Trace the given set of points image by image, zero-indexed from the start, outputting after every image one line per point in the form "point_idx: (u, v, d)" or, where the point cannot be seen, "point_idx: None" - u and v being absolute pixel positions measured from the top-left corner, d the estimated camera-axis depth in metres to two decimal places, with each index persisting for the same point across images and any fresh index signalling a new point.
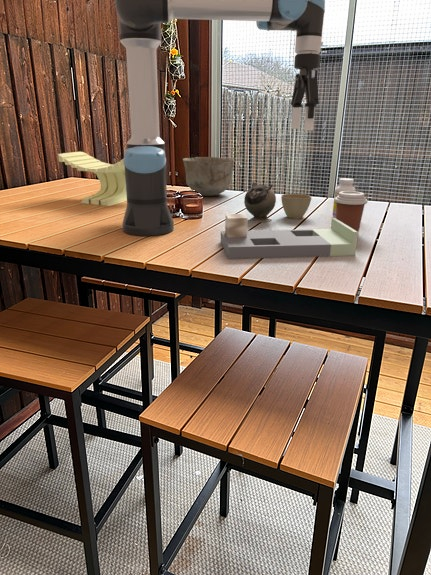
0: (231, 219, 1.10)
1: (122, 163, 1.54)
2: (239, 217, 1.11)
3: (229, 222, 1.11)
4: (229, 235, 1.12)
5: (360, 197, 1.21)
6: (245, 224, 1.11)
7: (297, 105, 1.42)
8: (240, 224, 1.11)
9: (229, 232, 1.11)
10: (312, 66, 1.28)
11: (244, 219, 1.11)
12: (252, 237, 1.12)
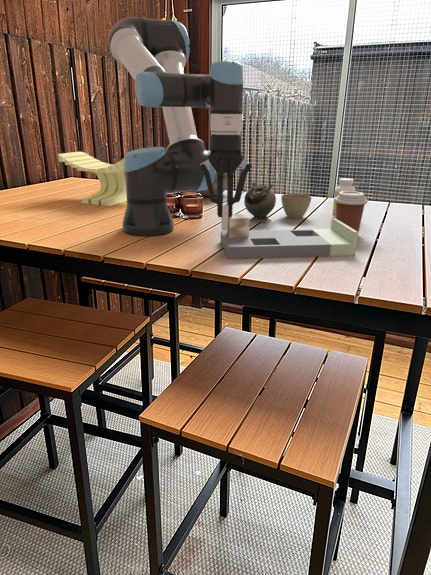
0: (233, 219, 1.10)
1: (122, 163, 1.54)
2: (241, 217, 1.11)
3: (231, 222, 1.11)
4: (231, 235, 1.12)
5: (360, 197, 1.21)
6: (247, 224, 1.11)
7: (228, 200, 1.10)
8: (242, 224, 1.11)
9: (231, 232, 1.11)
10: (211, 149, 1.05)
11: (246, 219, 1.11)
12: (252, 237, 1.12)
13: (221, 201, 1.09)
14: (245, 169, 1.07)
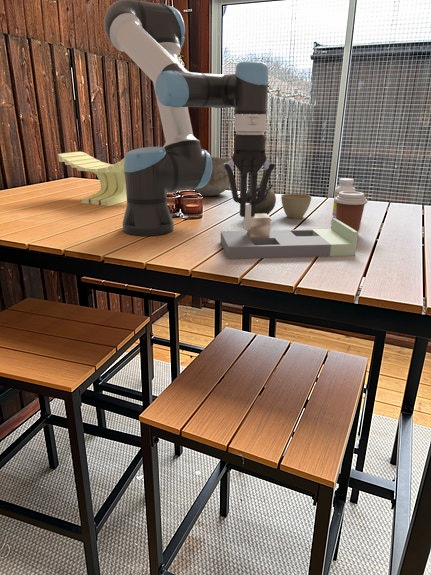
0: (254, 219, 1.11)
1: (122, 163, 1.54)
2: (262, 217, 1.12)
3: (252, 222, 1.11)
4: (252, 235, 1.12)
5: (360, 197, 1.21)
6: (268, 224, 1.12)
7: (250, 200, 1.11)
8: (263, 223, 1.12)
9: (252, 232, 1.12)
10: (235, 149, 1.05)
11: (267, 219, 1.11)
12: (252, 237, 1.12)
13: (244, 201, 1.10)
14: (268, 169, 1.08)
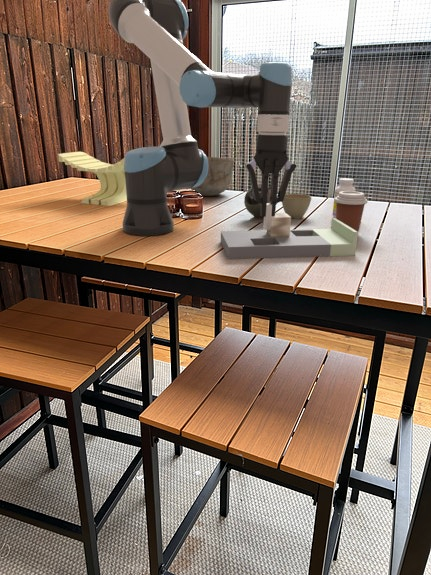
0: (275, 218, 1.11)
1: (122, 163, 1.54)
2: (282, 216, 1.12)
3: (273, 221, 1.12)
4: (272, 234, 1.13)
5: (360, 197, 1.21)
6: (288, 223, 1.12)
7: (271, 200, 1.12)
8: (283, 223, 1.12)
9: (272, 231, 1.13)
10: (257, 149, 1.06)
11: (288, 218, 1.12)
12: (252, 237, 1.12)
13: (265, 201, 1.11)
14: (290, 169, 1.08)
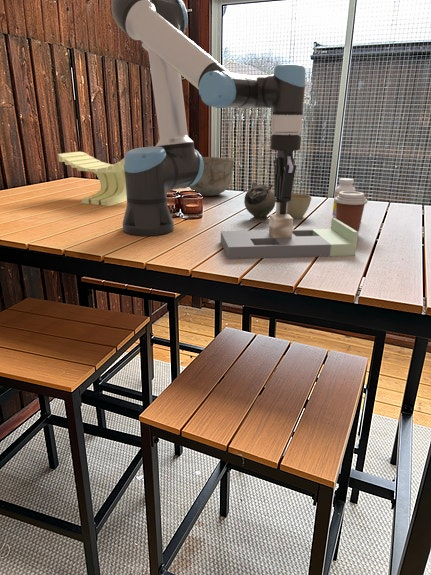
0: (277, 219, 1.10)
1: (122, 163, 1.54)
2: (285, 217, 1.11)
3: (275, 222, 1.11)
4: (274, 235, 1.12)
5: (360, 197, 1.21)
6: (291, 224, 1.11)
7: None
8: (286, 224, 1.11)
9: (274, 232, 1.11)
10: (292, 150, 1.07)
11: (290, 219, 1.11)
12: (252, 237, 1.12)
13: None
14: None
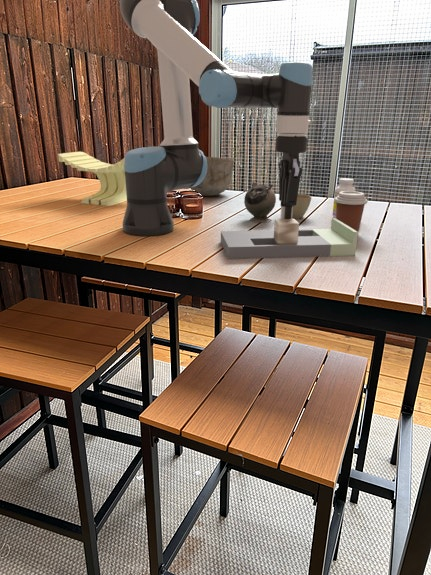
0: (282, 224, 1.06)
1: (122, 163, 1.54)
2: (290, 222, 1.06)
3: (280, 227, 1.06)
4: (279, 241, 1.07)
5: (360, 197, 1.21)
6: (296, 230, 1.06)
7: None
8: (291, 229, 1.06)
9: (279, 238, 1.07)
10: (298, 152, 1.02)
11: (295, 224, 1.06)
12: (252, 237, 1.12)
13: None
14: None
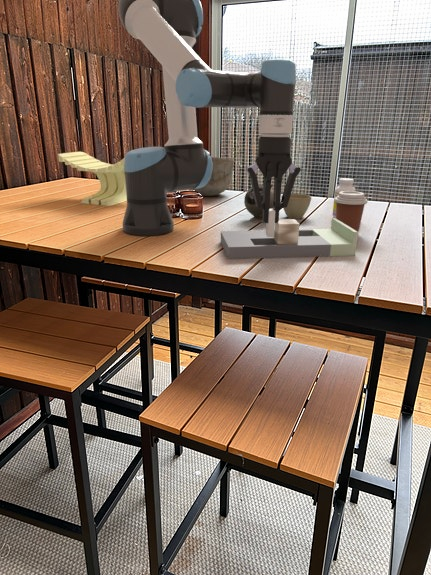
0: (282, 225, 1.05)
1: (122, 163, 1.54)
2: (290, 223, 1.06)
3: (280, 228, 1.05)
4: (279, 241, 1.07)
5: (360, 197, 1.21)
6: (297, 230, 1.06)
7: (274, 205, 1.05)
8: (291, 230, 1.06)
9: (279, 238, 1.06)
10: (259, 152, 1.00)
11: (296, 225, 1.05)
12: (252, 237, 1.12)
13: (268, 206, 1.04)
14: (294, 173, 1.02)
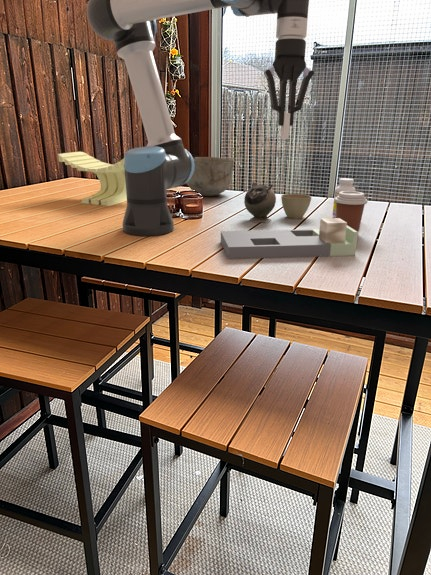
0: (330, 224, 1.06)
1: (122, 163, 1.54)
2: (338, 222, 1.07)
3: (328, 227, 1.07)
4: (327, 240, 1.08)
5: (360, 197, 1.21)
6: (344, 229, 1.07)
7: (289, 109, 1.15)
8: (339, 229, 1.07)
9: (327, 237, 1.08)
10: (276, 55, 1.09)
11: (343, 224, 1.07)
12: (252, 237, 1.12)
13: (283, 109, 1.13)
14: (308, 76, 1.11)
